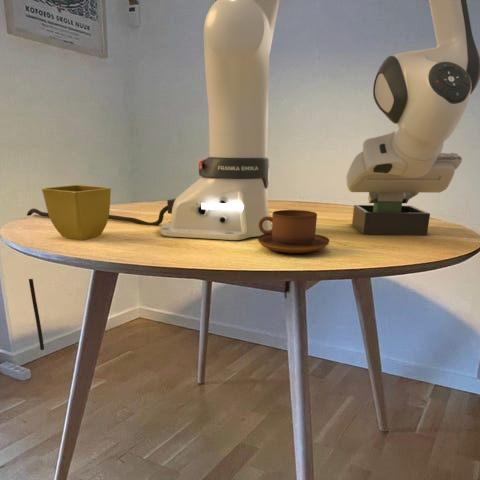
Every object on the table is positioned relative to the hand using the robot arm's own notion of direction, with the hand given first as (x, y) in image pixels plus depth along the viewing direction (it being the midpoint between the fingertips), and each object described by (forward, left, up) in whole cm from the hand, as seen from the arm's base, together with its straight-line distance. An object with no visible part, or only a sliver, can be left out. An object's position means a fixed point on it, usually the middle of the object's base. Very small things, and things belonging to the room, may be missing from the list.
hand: (386, 200), depth 99 cm
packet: (0, -1, -5) cm, 5 cm away
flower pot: (-60, -16, -6) cm, 63 cm away
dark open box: (0, -3, -6) cm, 6 cm away
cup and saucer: (-21, -24, -6) cm, 32 cm away
